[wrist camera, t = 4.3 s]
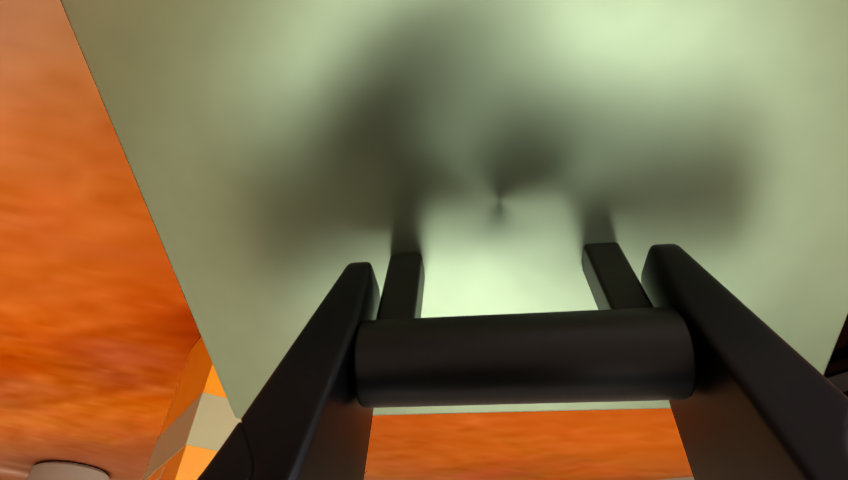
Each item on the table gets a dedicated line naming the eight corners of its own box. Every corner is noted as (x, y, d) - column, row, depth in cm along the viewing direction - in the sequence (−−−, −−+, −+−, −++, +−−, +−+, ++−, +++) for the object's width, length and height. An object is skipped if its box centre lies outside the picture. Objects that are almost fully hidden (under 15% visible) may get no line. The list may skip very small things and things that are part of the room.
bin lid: (793, 381, 13) (939, 565, 9) (245, 397, 14) (166, 560, 10) (1022, -259, 7) (1761, -544, 3) (44, -115, 8) (-310, -177, 4)
